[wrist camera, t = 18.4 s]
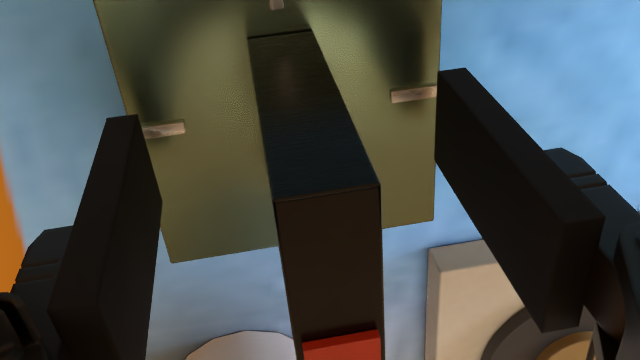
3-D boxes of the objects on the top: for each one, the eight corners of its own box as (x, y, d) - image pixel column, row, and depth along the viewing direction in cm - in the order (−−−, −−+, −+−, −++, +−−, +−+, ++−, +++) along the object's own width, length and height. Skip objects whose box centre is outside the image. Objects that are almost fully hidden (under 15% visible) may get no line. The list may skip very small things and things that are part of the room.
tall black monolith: (246, 39, 15) (273, 209, 9) (313, 29, 16) (385, 191, 9) (268, 181, 18) (302, 392, 12) (325, 172, 18) (389, 376, 12)
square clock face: (90, -70, 15) (75, -52, 14) (422, -107, 16) (448, -95, 14) (173, 227, 21) (170, 267, 19) (416, 188, 22) (435, 223, 20)
